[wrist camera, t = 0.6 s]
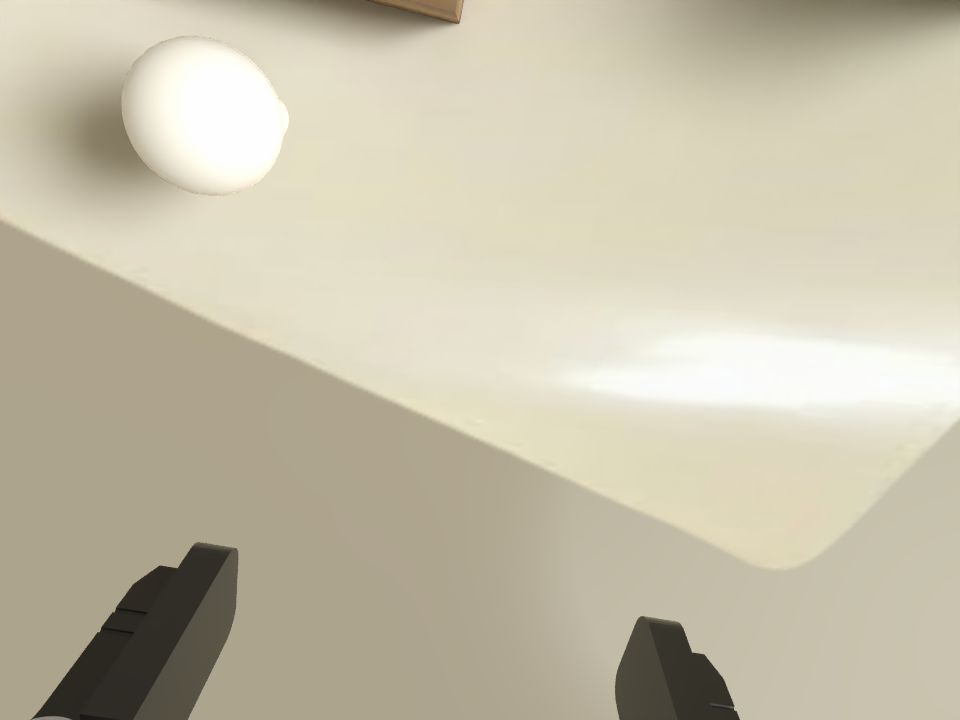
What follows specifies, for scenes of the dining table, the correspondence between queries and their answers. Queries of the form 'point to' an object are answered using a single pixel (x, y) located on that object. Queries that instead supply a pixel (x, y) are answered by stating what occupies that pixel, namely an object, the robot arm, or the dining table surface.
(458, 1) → the brown wooden flat block
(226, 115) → the lightbulb
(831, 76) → the dining table surface
